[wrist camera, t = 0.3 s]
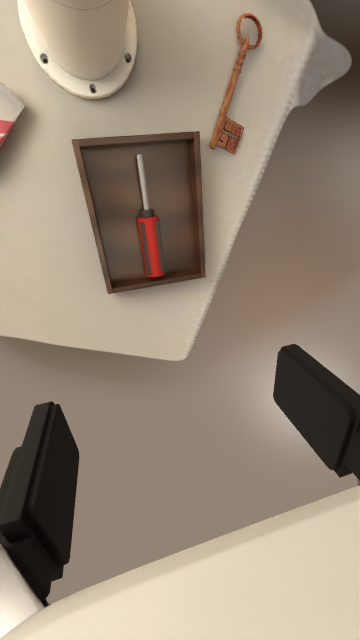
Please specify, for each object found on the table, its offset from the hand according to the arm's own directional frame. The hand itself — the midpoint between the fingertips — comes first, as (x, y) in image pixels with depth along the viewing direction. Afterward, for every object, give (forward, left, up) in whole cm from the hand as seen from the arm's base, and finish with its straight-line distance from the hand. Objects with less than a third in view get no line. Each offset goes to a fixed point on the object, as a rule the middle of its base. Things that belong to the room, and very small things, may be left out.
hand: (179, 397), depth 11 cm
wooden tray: (-3, +4, -36) cm, 36 cm away
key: (-18, +19, -36) cm, 45 cm away
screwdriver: (-3, +4, -35) cm, 36 cm away
